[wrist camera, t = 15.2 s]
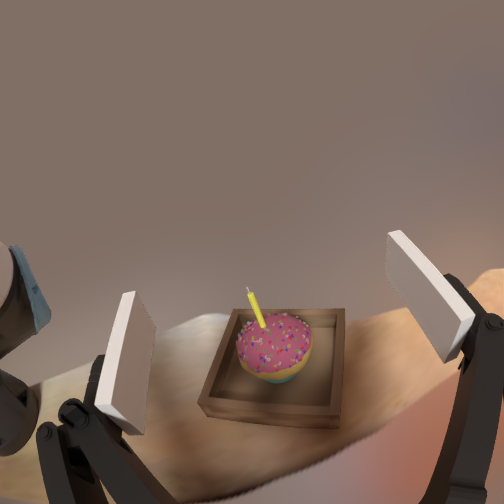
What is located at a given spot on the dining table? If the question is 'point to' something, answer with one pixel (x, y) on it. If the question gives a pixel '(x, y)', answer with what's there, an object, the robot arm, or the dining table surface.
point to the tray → (282, 394)
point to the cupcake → (274, 345)
